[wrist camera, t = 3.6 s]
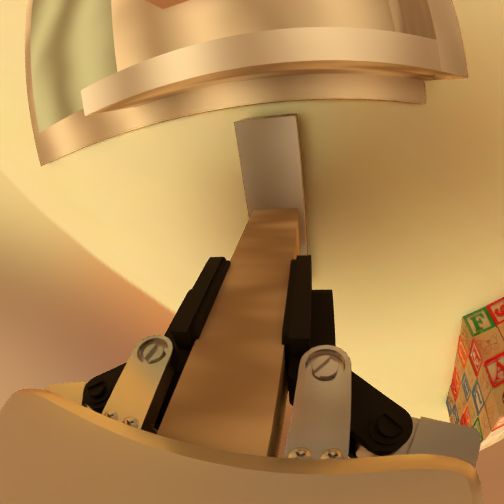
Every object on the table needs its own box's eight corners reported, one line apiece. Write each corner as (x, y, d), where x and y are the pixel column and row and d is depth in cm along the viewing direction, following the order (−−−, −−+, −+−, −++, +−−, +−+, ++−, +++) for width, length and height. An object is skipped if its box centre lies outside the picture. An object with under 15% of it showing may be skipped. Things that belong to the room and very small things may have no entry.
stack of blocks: (478, 388, 26) (493, 451, 16) (445, 402, 29) (456, 468, 18) (506, 293, 18) (554, 386, 7) (460, 315, 20) (500, 421, 10)
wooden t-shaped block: (296, 113, 14) (156, 369, 1) (308, 282, 20) (285, 514, 7) (246, 118, 15) (-49, 289, 1) (268, 282, 21) (214, 504, 7)
